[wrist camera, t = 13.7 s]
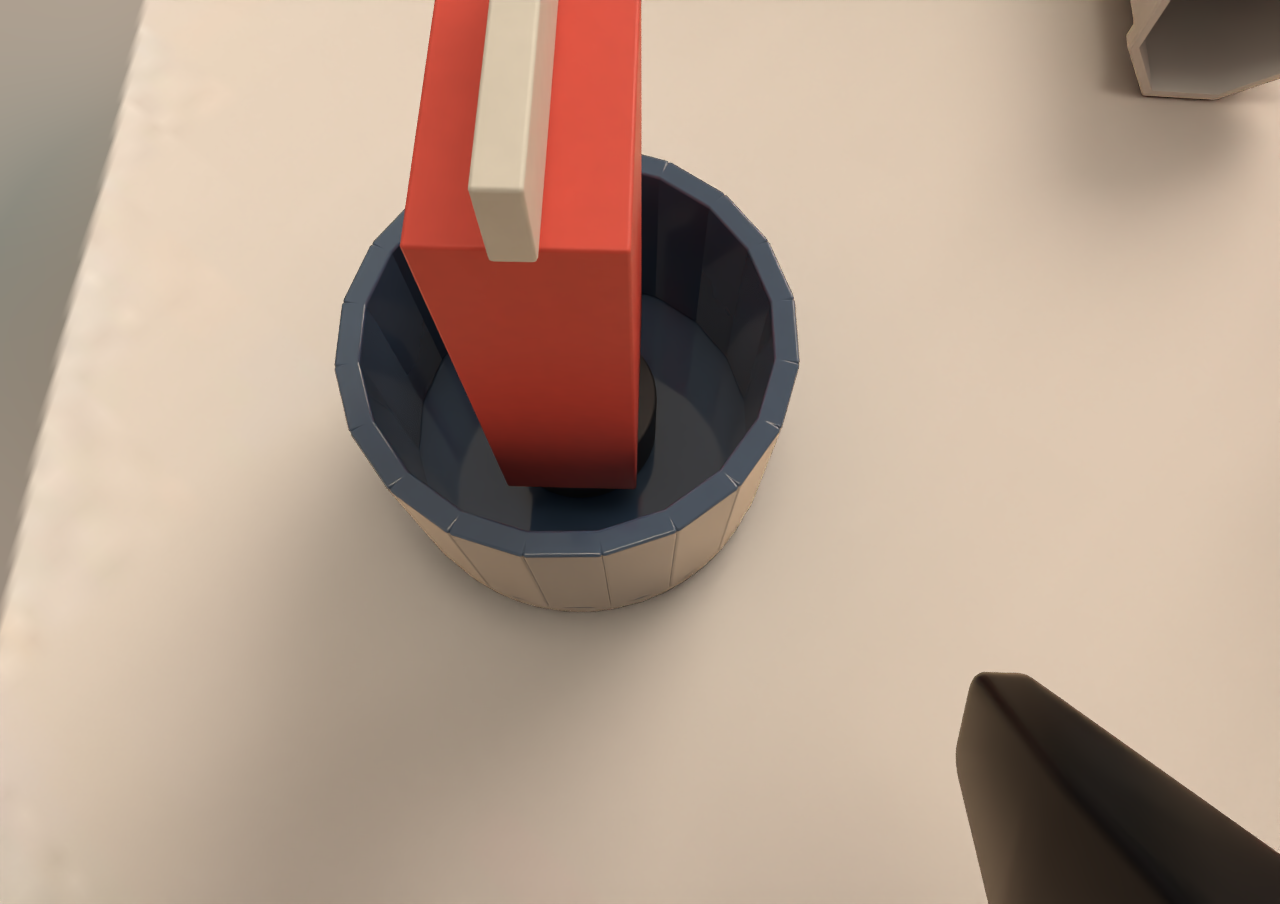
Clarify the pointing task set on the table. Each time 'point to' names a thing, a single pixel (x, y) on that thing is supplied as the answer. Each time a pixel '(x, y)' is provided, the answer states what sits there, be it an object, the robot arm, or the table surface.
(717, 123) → the table surface
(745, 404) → the holder
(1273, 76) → the tube
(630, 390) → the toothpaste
